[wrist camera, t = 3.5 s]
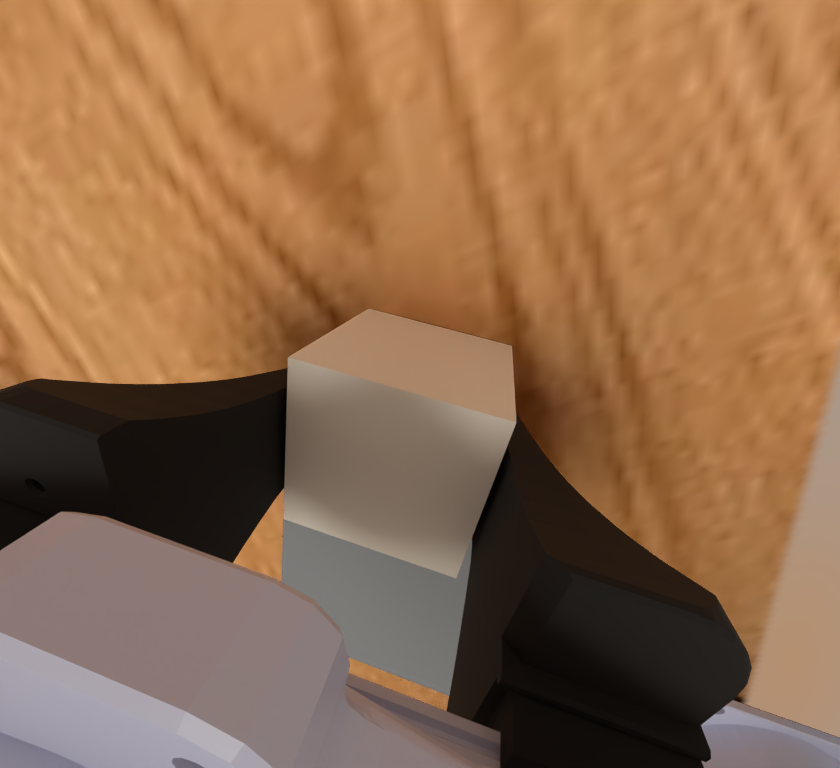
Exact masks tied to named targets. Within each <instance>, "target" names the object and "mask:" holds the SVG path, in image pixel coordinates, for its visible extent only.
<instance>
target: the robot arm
mask: <svg viewBox="0 0 840 768" xmlns="http://www.w3.org/2000/svg"><path fill="white" fill-rule="evenodd" d="M287 372H288V368H286V369H282V370H277V371H273V372H268V373H262V374H257V375H252V376H247V377H241V378H235V379H228V380H219V381H210V382H197V383H178V384H107V383H90V382H76V381H62V380H49V379H35V380H30V381H26V382H23V383H20V384H17V385H14V386H11V387H7V388H4V389H1V390H0V768H840V738H839V737H836V736H833V735H830V734H828V733H825V732H822V731H819V730H816V729H814V728H811V727H808V726H805V725H802V724H799V723H797V722H793V721H791V720H788V719H785V718H782V717H779V716H777V715H774V714H771V713H768V712H765V711H762V710H760V709H757V708H754V707H751V706H748V705H745V704H743V703H740V702H737V701H734V699H735V698H736V697H737V695H738V694H739V693H740V692H741V691H742V690H743V689H744V687H745V686H746V684H747V683H748V679H749V676H750V672H751V668H752V667H751V663H750V659H749V655H748V652H747V650H746V648H745V647H744V645H743V643H742V641H741V639H740V638H739V636H738V634H737V632H736V631H735V629H734V627H733V625H732V624H731V622H730V620H729V618H728V617H727V615H726V613H725V611H724V610H723V608H722V606H721V604H720V603H719V601H718V599H717V597H716V596H715V595H714V594H712V593H711V592H709V591H708V590H706V589H705V588H703V587H701V586H700V585H698V584H697V583H695V582H694V581H692V580H691V579H689V578H688V577H686V576H685V575H683V574H681V573H680V572H678V571H677V570H675V569H674V568H672V567H671V566H669V565H668V564H666V563H665V562H663V561H662V560H660V559H659V558H657V557H656V556H654V555H653V554H652V553H650V552H649V551H648V550H646V549H645V548H644V547H642V546H641V545H639V544H638V543H637V542H635V541H634V540H633V539H631V538H630V537H629V536H627V535H626V534H625V533H624V532H622V531H621V530H620V529H619V528H617V527H616V526H615V525H614V524H612V523H611V522H610V521H609V520H608V519H607V518H605V517H604V516H603V515H602V514H601V513H600V512H598V511H597V510H596V509H595V508H594V507H593V506H592V505H591V504H589V503H588V502H587V501H586V500H585V499H584V498H583V497H582V496H581V495H580V494H579V493H578V492H577V491H576V490H575V489H574V488H573V487H572V486H571V485H570V484H569V483H568V482H567V481H566V479H565V478H564V477H563V476H562V475H561V474H560V473H559V472H558V470H557V469H556V468H555V467H554V466H553V464H552V463H551V462H550V461H549V459H548V458H547V457H546V456H545V454H544V453H543V452H542V450H541V449H540V448H539V446H538V445H537V443H536V442H535V440H534V439H533V438H532V436H531V435H530V433H529V432H528V430H527V429H526V427H525V426H524V424H523V422H522V421H521V419H520V418H519V416H518V415H517V414H516V425H515V428H514V430H513V433H512V435H511V438H510V440H509V443H508V446H507V448H506V451H505V453H504V456H503V459H502V461H501V464H500V466H499V469H498V472H497V474H496V477H495V479H494V482H493V484H492V487H491V490H490V492H489V495H488V497H487V500H486V503H485V505H484V508H483V510H482V513H481V515H480V518H479V521H478V523H477V526H476V528H475V531H474V534H473V536H472V551H471V562H470V570H469V576H468V583H467V590H466V597H465V604H464V610H463V617H462V623H461V630H460V636H459V642H458V648H457V654H456V660H455V666H454V672H453V678H452V684H451V689H450V695H449V701H448V706H447V711H445V710H442V709H440V708H437V707H434V706H432V705H429V704H427V703H424V702H422V701H419V700H416V699H414V698H411V697H409V696H406V695H404V694H401V693H398V692H396V691H393V690H391V689H388V688H386V687H383V686H380V685H378V684H375V683H373V682H370V681H368V680H365V679H363V678H360V677H357V676H355V675H352V674H350V673H348V672H349V667H350V663H349V659H348V655H347V650H346V646H345V642H344V638H343V635H342V632H341V630H340V628H339V626H338V625H337V624H336V623H335V622H334V621H333V620H332V619H331V618H330V616H329V615H328V614H327V613H326V612H325V611H324V610H323V609H322V608H321V607H320V606H319V605H318V603H317V602H316V601H315V600H314V599H312V598H310V597H308V596H306V595H304V594H303V593H301V592H299V591H297V590H295V589H294V588H292V587H290V586H288V585H286V584H285V583H283V582H281V581H279V580H277V579H275V578H272V577H269V576H267V575H264V574H261V573H258V572H256V571H253V570H250V569H248V568H245V567H242V566H239V565H237V564H234V563H233V562H234V560H235V558H236V557H237V555H238V554H239V552H240V550H241V549H242V547H243V546H244V544H245V543H246V541H247V540H248V538H249V537H250V535H251V534H252V532H253V531H254V529H255V528H256V526H257V525H258V523H259V522H260V520H261V519H262V517H263V516H264V514H265V513H266V512H267V510H268V509H269V507H270V506H271V504H272V503H273V501H274V500H275V499H276V497H277V496H278V495H279V493H280V492H281V491H282V490H283V488H284V483H285V446H286V409H287Z"/></svg>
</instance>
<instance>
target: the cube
mask: <svg viewBox="0 0 840 768" xmlns="http://www.w3.org/2000/svg"><path fill="white" fill-rule="evenodd" d="M515 425H516V406H515V389H514V371H513V354H512V346H511V345H507V344H503V343H499V342H496V341H492V340H488V339H484V338H480V337H476V336H473V335H469V334H465V333H461V332H457V331H453V330H450V329H446V328H442V327H438V326H434V325H430V324H427V323H423V322H419V321H415V320H411V319H408V318H404V317H400V316H396V315H392V314H388V313H385V312H381V311H377V310H373V309H367V310H365V311H364V312H362V313H360V314H359V315H357V316H355V317H354V318H352V319H350V320H349V321H347V322H345V323H344V324H342V325H340V326H339V327H337V328H335V329H334V330H332V331H330V332H329V333H327V334H325V335H324V336H322V337H320V338H319V339H317V340H315V341H314V342H312V343H310V344H309V345H307V346H306V347H304V348H302V349H301V350H299V351H297V352H296V353H294V354H292V355H291V356H289V357H288V372H287V409H286V446H285V483H284V519H285V520H288V521H291V522H293V523H296V524H299V525H302V526H305V527H308V528H311V529H314V530H317V531H320V532H323V533H325V534H328V535H331V536H334V537H337V538H340V539H343V540H346V541H349V542H352V543H354V544H357V545H360V546H363V547H366V548H369V549H372V550H375V551H378V552H381V553H384V554H386V555H389V556H392V557H395V558H398V559H401V560H404V561H407V562H410V563H413V564H415V565H418V566H421V567H424V568H427V569H430V570H433V571H436V572H439V573H442V574H445V575H447V576H450V577H453V578H457V575H458V572H459V570H460V567H461V565H462V562H463V559H464V557H465V554H466V552H467V549H468V547H469V544H470V541H471V539H472V536H473V534H474V531H475V528H476V526H477V523H478V521H479V518H480V515H481V513H482V510H483V508H484V505H485V503H486V500H487V497H488V495H489V492H490V490H491V487H492V484H493V482H494V479H495V477H496V474H497V472H498V469H499V466H500V464H501V461H502V459H503V456H504V453H505V451H506V448H507V446H508V443H509V440H510V438H511V435H512V433H513V430H514V428H515Z"/></svg>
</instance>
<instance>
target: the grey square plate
mask: <svg viewBox="0 0 840 768" xmlns="http://www.w3.org/2000/svg"><path fill="white" fill-rule="evenodd" d="M471 551H472V539H471V541H470V544H469V547H468V549H467V552H466V554H465V557H464V559H463V562H462V565H461V567H460V570H459V572H458V575H457V578H453V577H450V576H447V575H445V574H442V573H439V572H436V571H433V570H430V569H427V568H424V567H421V566H418V565H415V564H413V563H410V562H407V561H404V560H401V559H398V558H395V557H392V556H389V555H386V554H384V553H381V552H378V551H375V550H372V549H369V548H366V547H363V546H360V545H357V544H354V543H352V542H349V541H346V540H343V539H340V538H337V537H334V536H331V535H328V534H325V533H323V532H320V531H317V530H314V529H311V528H308V527H305V526H302V525H299V524H296V523H293V522H291V521H288V520H285V519H284V517H283V554H282V582H283V583H285V584H286V585H288V586H290V587H292V588H294V589H295V590H297V591H299V592H301V593H303V594H304V595H306V596H308V597H310V598H312V599H314V600H315V601H316V602H317V603H318V605H319V606H320V607H321V608H322V609H323V610H324V611H325V612H326V613H327V614H328V615H329V616H330V618H331V619H332V620H333V621H334V622H335V623H336V624H337V625H338V626H339V628H340V630H341V632H342V635H343V638H344V642H345V646H346V650H347V655H348V657H349V658H352V659H355V660H357V661H360V662H362V663H365V664H368V665H370V666H373V667H375V668H378V669H381V670H383V671H386V672H388V673H391V674H394V675H396V676H399V677H401V678H404V679H407V680H409V681H412V682H414V683H417V684H420V685H422V686H425V687H427V688H430V689H433V690H435V691H438V692H440V693H443V694H446V695H448V696H449V695H450V689H451V684H452V678H453V672H454V666H455V660H456V654H457V648H458V642H459V636H460V630H461V623H462V617H463V610H464V604H465V597H466V590H467V583H468V576H469V570H470V562H471Z"/></svg>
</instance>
